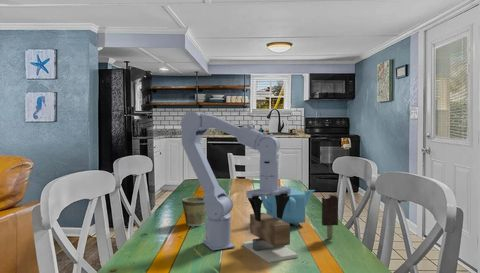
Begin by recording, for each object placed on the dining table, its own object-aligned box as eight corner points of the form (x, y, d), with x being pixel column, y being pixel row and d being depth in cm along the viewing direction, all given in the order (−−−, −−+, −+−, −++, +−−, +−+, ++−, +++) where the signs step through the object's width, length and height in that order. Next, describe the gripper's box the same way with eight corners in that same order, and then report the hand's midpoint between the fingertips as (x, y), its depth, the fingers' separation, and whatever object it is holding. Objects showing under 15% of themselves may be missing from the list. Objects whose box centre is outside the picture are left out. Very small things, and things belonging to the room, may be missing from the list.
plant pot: (201, 229, 139) (200, 202, 139) (177, 226, 142) (177, 200, 142) (215, 221, 151) (215, 196, 151) (193, 218, 155) (193, 195, 154)
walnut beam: (250, 232, 121) (250, 214, 121) (263, 230, 123) (263, 212, 123) (275, 247, 106) (275, 226, 106) (289, 244, 108) (289, 224, 108)
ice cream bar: (323, 239, 126) (323, 195, 126) (321, 238, 128) (321, 194, 127) (338, 239, 126) (338, 195, 126) (336, 237, 128) (336, 194, 128)
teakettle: (295, 232, 135) (295, 192, 134) (252, 224, 146) (252, 187, 145) (316, 221, 150) (316, 185, 150) (275, 215, 161) (276, 181, 161)
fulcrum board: (242, 245, 120) (242, 233, 120) (269, 241, 124) (269, 229, 124) (268, 262, 105) (268, 248, 105) (297, 257, 109) (298, 243, 109)
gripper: (253, 178, 107) (253, 225, 108) (296, 175, 113) (295, 219, 114) (243, 175, 114) (243, 219, 114) (283, 172, 120) (283, 214, 120)
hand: (268, 219), depth 114 cm, fingers open, 7 cm apart
